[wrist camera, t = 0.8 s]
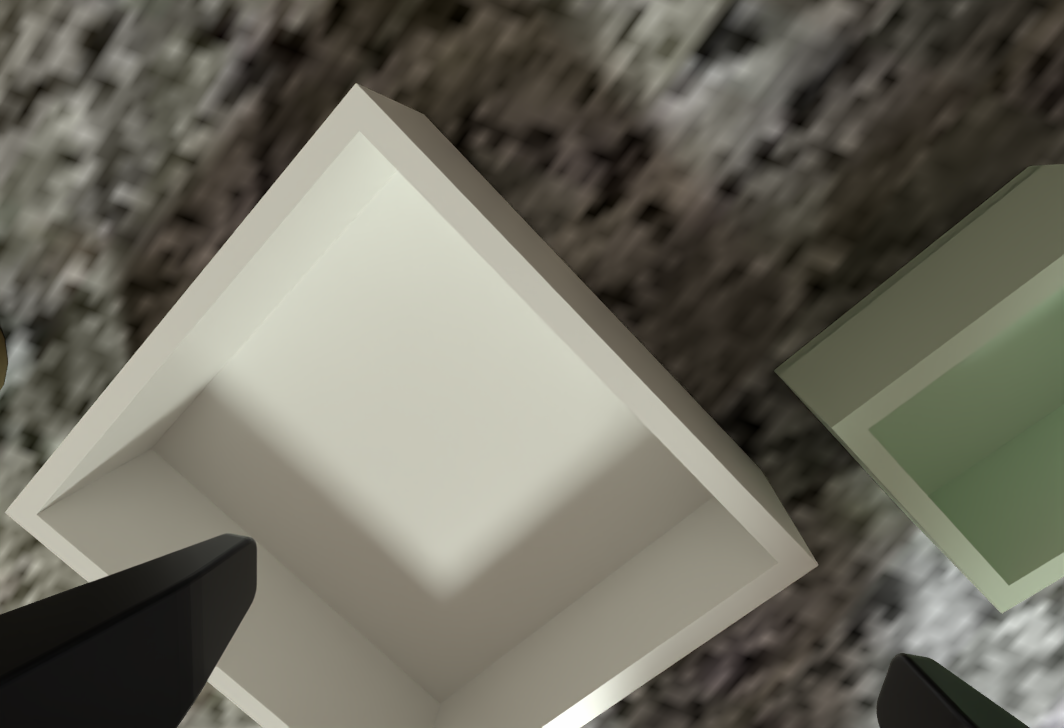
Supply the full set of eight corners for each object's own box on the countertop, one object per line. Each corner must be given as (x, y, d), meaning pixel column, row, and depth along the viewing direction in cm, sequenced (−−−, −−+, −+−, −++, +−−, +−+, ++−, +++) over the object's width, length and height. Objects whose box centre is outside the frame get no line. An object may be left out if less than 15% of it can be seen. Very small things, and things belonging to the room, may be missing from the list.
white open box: (761, 470, 21) (818, 565, 15) (445, 707, 25) (405, 846, 19) (423, 114, 18) (356, 82, 13) (141, 438, 23) (4, 512, 17)
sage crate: (1166, 339, 18) (1372, 391, 13) (906, 515, 20) (1001, 613, 16) (1028, 165, 17) (1196, 155, 12) (773, 370, 20) (831, 427, 15)
